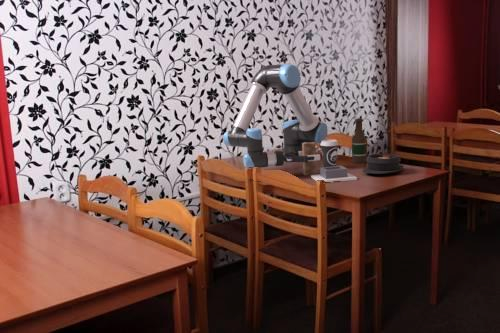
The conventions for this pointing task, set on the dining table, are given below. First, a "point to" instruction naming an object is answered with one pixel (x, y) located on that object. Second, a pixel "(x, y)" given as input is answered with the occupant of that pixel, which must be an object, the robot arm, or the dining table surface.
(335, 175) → the end cap plate
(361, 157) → the beer bottle
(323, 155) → the coffee cup
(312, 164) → the walnut slat
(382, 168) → the casserole
